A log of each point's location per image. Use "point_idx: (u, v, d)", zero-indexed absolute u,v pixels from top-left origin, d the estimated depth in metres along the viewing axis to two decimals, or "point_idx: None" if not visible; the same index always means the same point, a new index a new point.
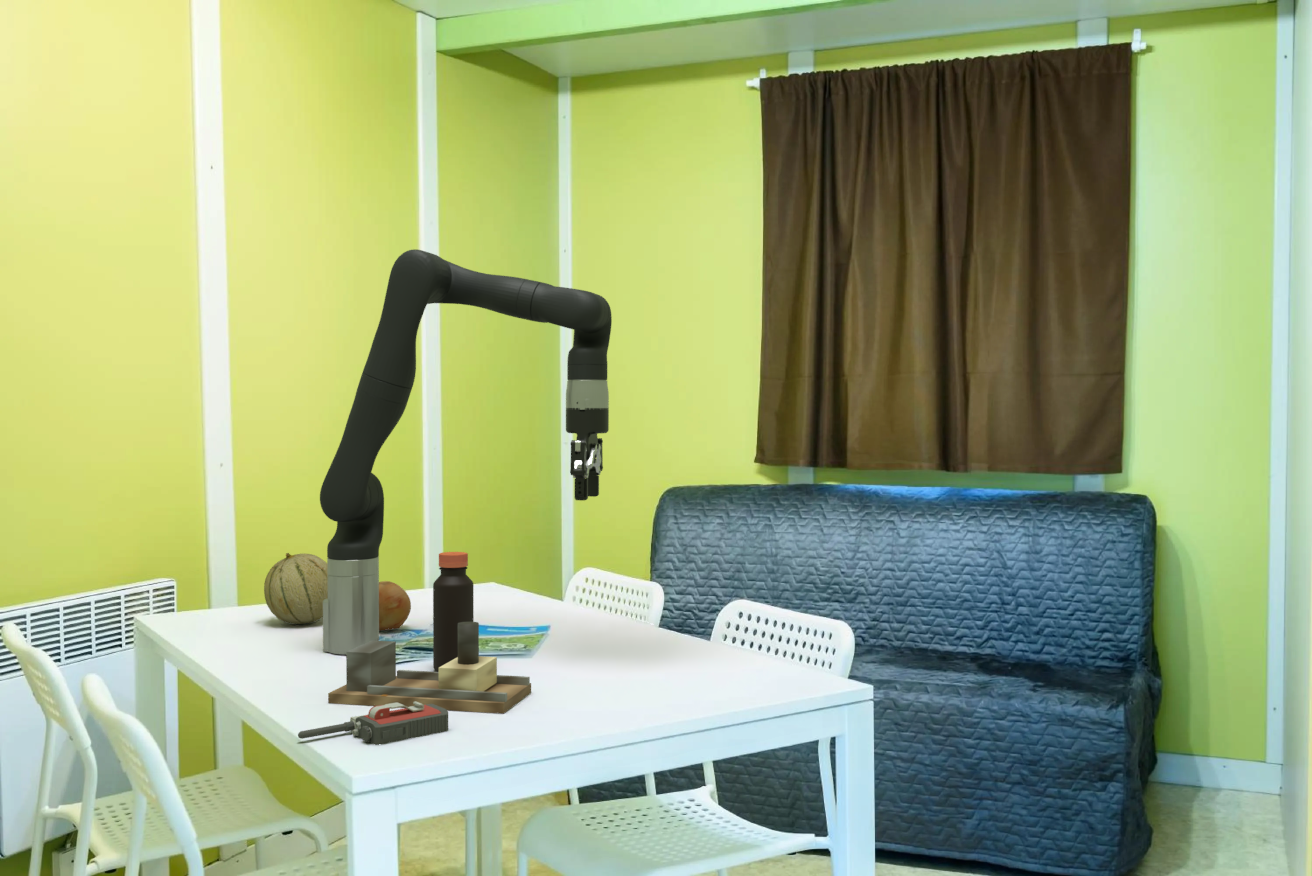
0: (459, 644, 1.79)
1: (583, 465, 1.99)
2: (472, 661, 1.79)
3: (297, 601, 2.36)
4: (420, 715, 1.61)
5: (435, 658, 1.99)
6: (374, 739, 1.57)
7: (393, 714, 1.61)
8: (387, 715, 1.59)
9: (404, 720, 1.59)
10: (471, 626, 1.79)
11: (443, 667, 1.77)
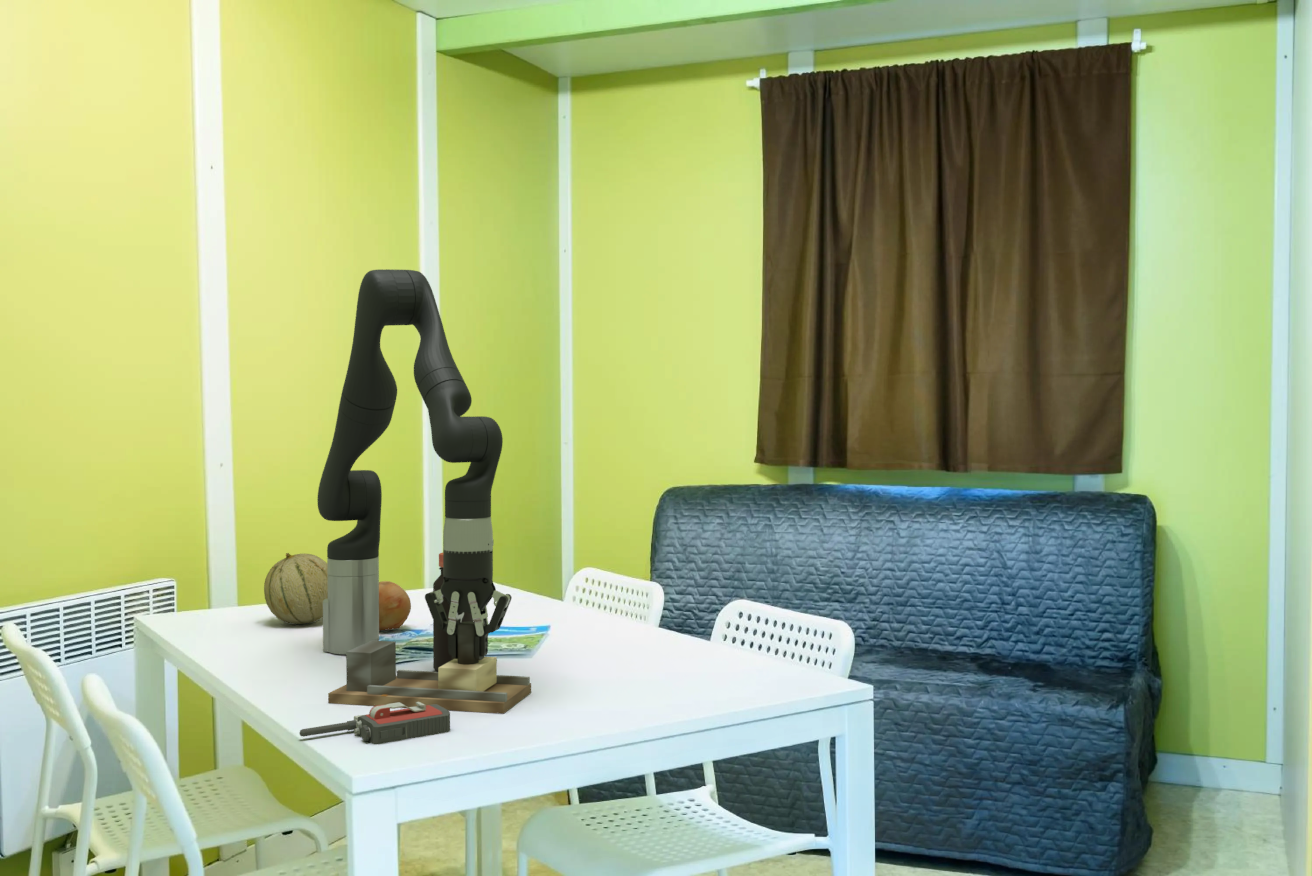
0: (459, 644, 1.79)
1: (501, 621, 1.80)
2: (472, 661, 1.79)
3: (297, 601, 2.36)
4: (421, 715, 1.61)
5: (435, 658, 1.99)
6: (372, 738, 1.57)
7: (394, 714, 1.61)
8: (387, 715, 1.60)
9: (404, 720, 1.59)
10: (471, 626, 1.79)
11: (443, 667, 1.77)
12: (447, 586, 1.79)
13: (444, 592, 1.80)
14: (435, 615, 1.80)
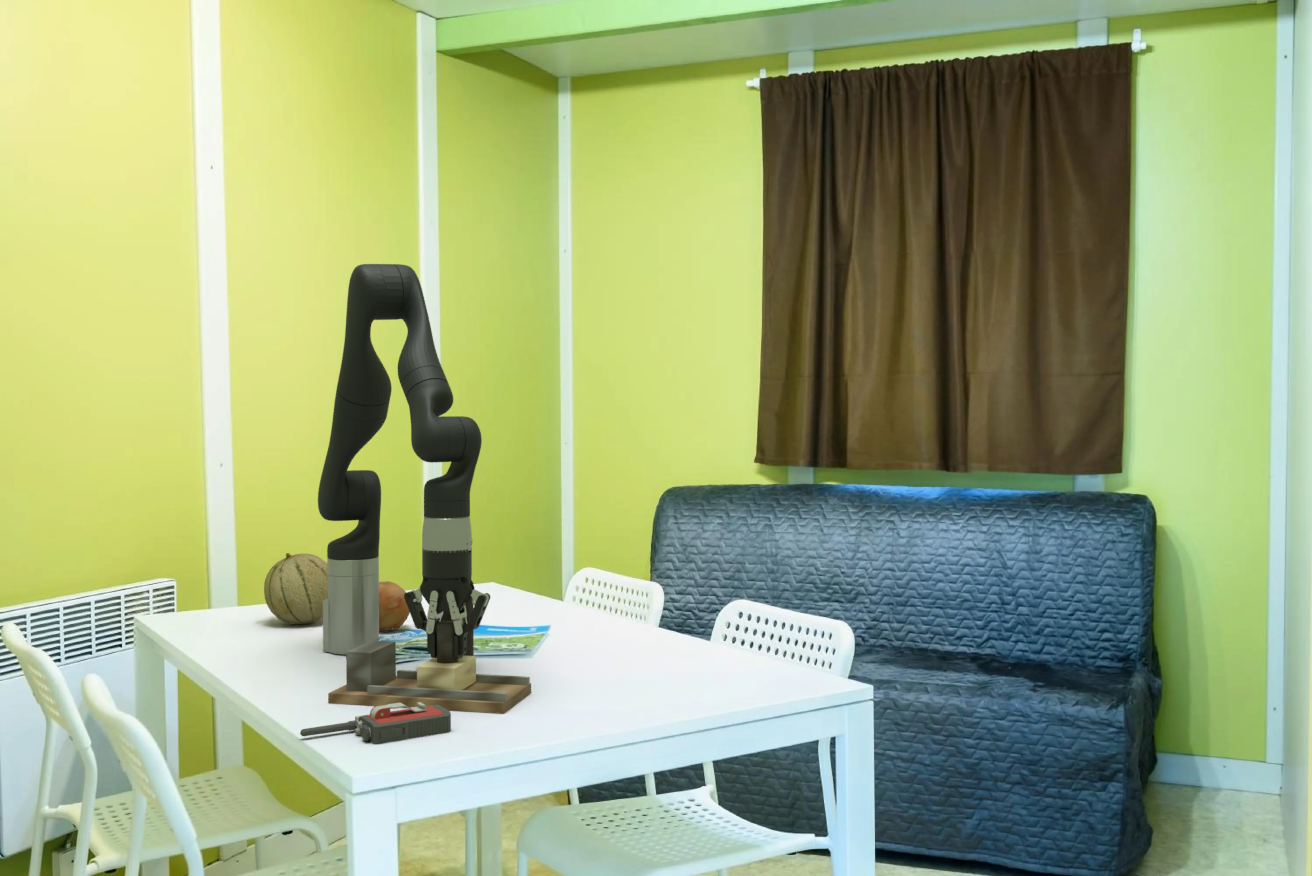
0: (438, 643, 1.80)
1: (480, 620, 1.81)
2: (451, 660, 1.80)
3: (297, 601, 2.36)
4: (421, 716, 1.61)
5: None
6: (372, 738, 1.57)
7: (395, 714, 1.61)
8: (388, 715, 1.60)
9: (404, 720, 1.59)
10: (450, 625, 1.79)
11: (422, 666, 1.77)
12: (426, 585, 1.80)
13: (423, 591, 1.80)
14: (414, 614, 1.81)
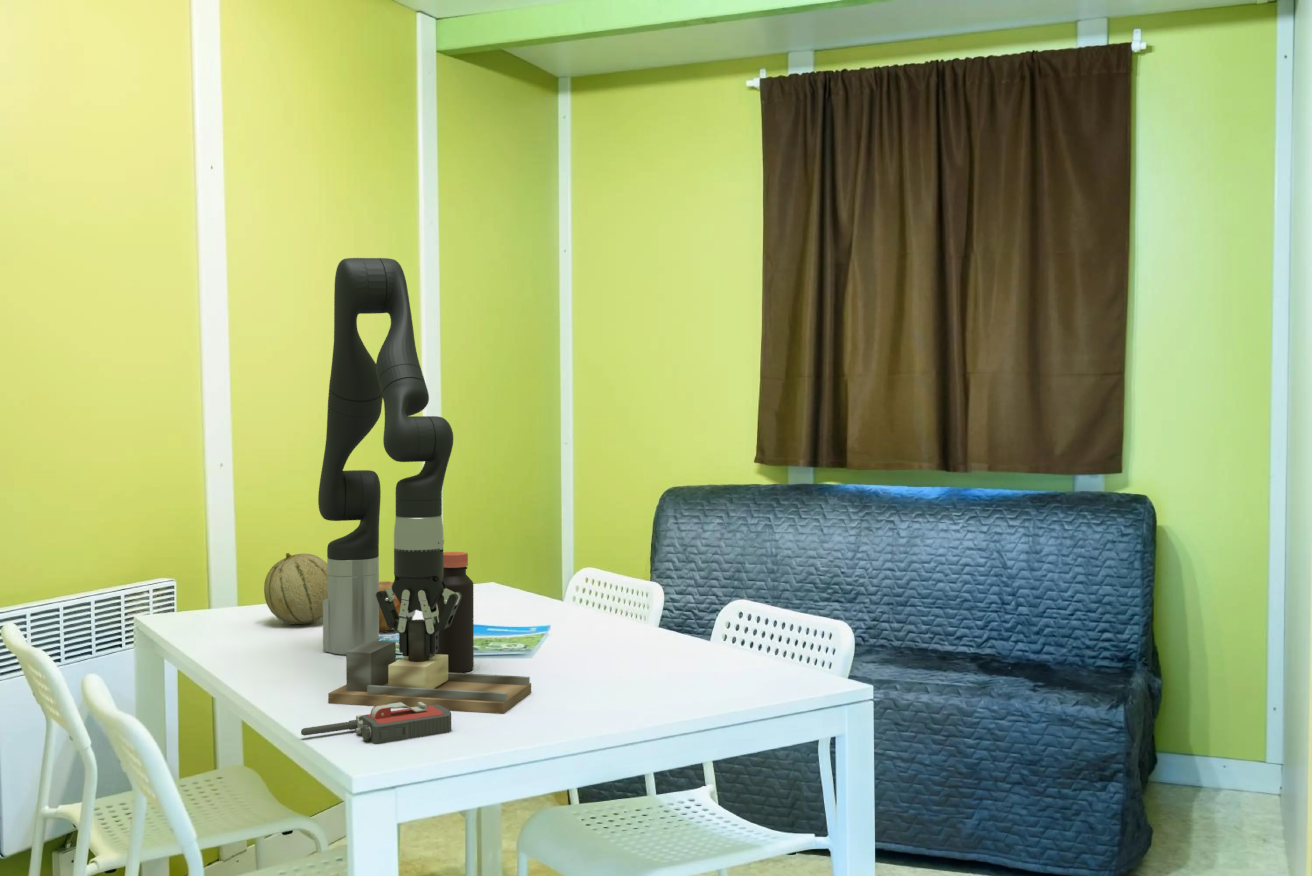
0: (409, 642, 1.81)
1: (452, 619, 1.82)
2: (422, 659, 1.81)
3: (297, 601, 2.36)
4: (422, 716, 1.61)
5: None
6: (372, 738, 1.57)
7: (396, 714, 1.62)
8: (388, 715, 1.60)
9: (404, 720, 1.59)
10: (421, 624, 1.80)
11: (393, 664, 1.78)
12: (398, 584, 1.81)
13: (395, 590, 1.81)
14: (386, 613, 1.82)
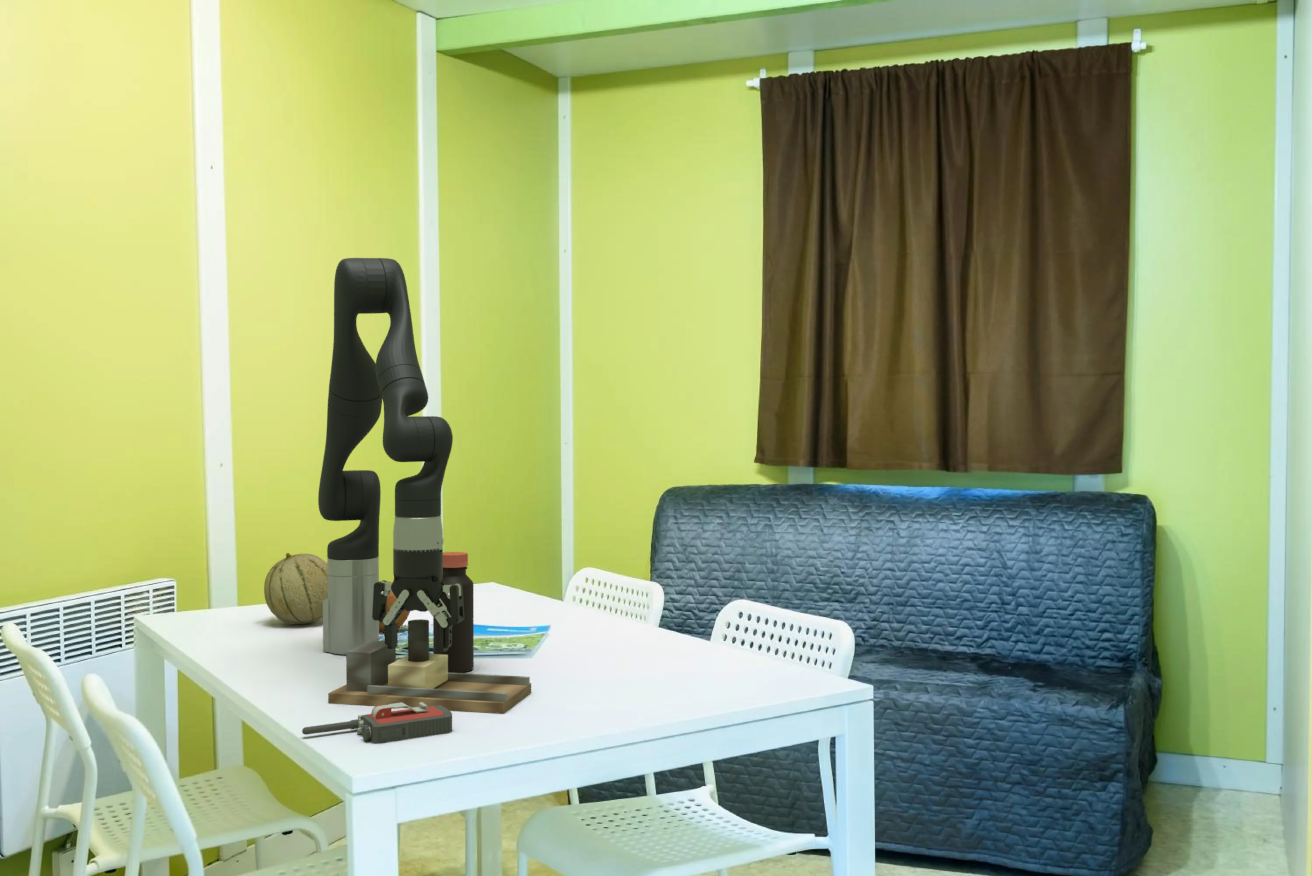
0: (409, 642, 1.81)
1: (463, 610, 1.81)
2: (422, 658, 1.81)
3: (297, 601, 2.36)
4: (422, 716, 1.61)
5: None
6: (372, 738, 1.57)
7: (396, 714, 1.62)
8: (388, 715, 1.60)
9: (404, 721, 1.59)
10: (421, 624, 1.80)
11: (393, 664, 1.78)
12: (398, 585, 1.81)
13: (393, 589, 1.81)
14: (376, 605, 1.82)
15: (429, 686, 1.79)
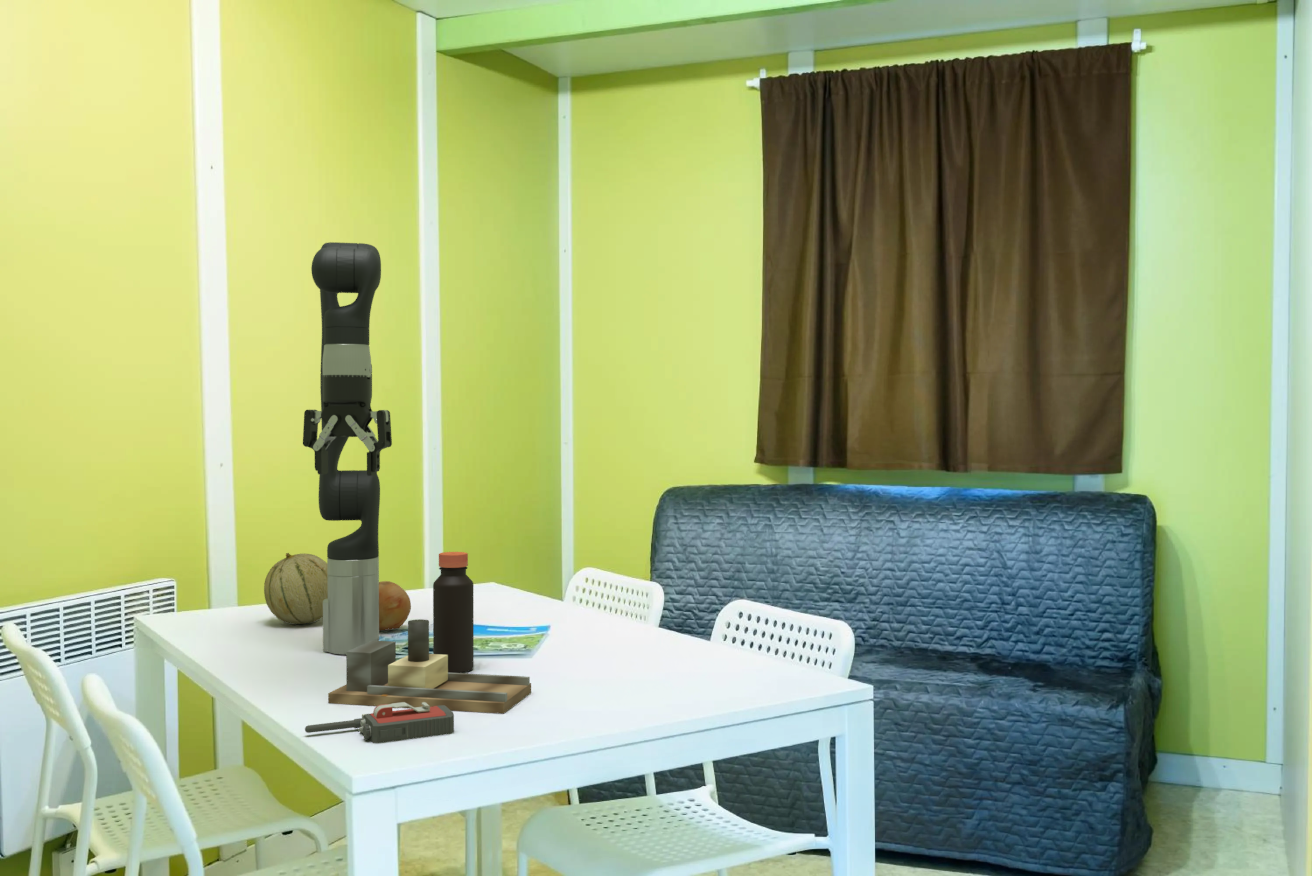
0: (409, 642, 1.81)
1: (390, 436, 1.87)
2: (422, 658, 1.81)
3: (297, 601, 2.36)
4: (423, 716, 1.61)
5: None
6: (372, 737, 1.58)
7: (398, 714, 1.62)
8: (389, 714, 1.60)
9: (405, 720, 1.59)
10: (421, 624, 1.80)
11: (393, 664, 1.78)
12: (328, 412, 1.87)
13: (323, 416, 1.87)
14: (306, 432, 1.88)
15: (429, 686, 1.79)
